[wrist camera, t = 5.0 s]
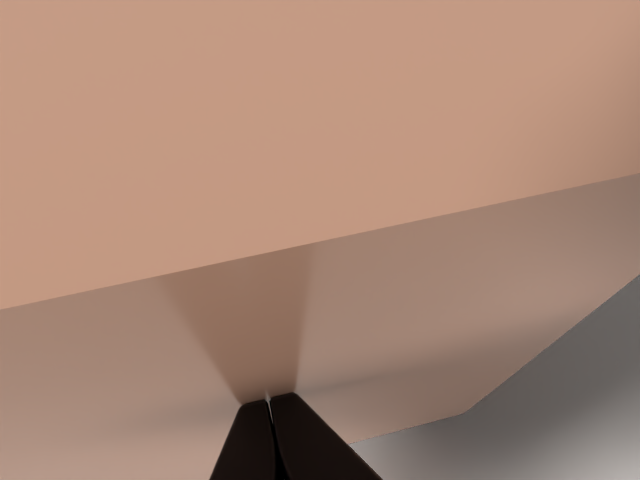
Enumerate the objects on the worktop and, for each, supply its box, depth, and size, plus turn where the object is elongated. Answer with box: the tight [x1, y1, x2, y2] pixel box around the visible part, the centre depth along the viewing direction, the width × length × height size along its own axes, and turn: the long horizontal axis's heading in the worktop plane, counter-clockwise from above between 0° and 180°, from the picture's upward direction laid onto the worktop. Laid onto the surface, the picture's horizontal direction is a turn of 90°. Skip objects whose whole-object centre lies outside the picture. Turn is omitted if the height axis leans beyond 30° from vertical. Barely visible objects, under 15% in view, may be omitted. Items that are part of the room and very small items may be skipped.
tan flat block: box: [0, 0, 640, 480], centre depth 10 cm, size 4×10×12 cm, turn 104°
